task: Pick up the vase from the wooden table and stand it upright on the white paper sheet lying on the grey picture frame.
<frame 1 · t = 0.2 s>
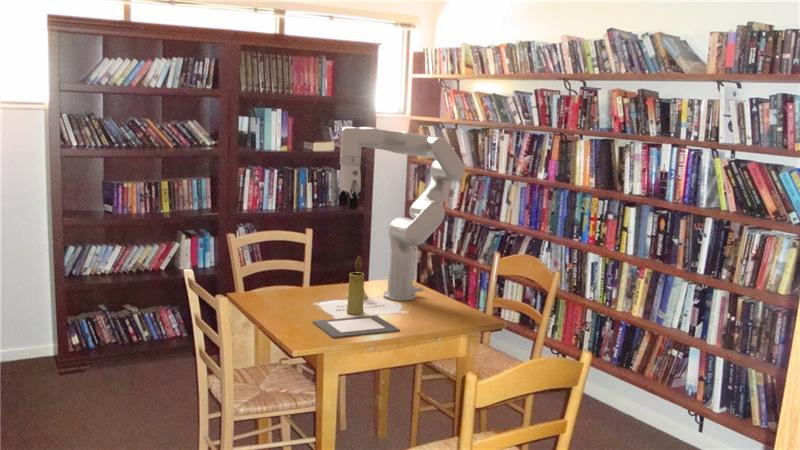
hand: (347, 207, 270), 36 cm above the table, tool pointing down, fingers open, 9 cm apart
grey picture frame: (355, 326, 245), on the table
hand bell: (357, 297, 285), on the table
vase: (355, 313, 263), on the table
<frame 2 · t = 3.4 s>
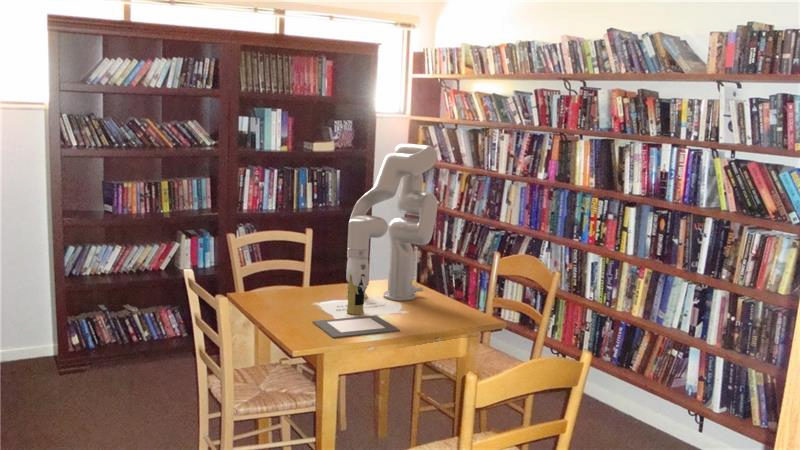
hand: (355, 302, 262), 4 cm above the table, tool pointing down, fingers closed on vase, 5 cm apart
vase: (355, 313, 263), on the table, touching gripper
everything else where it was.
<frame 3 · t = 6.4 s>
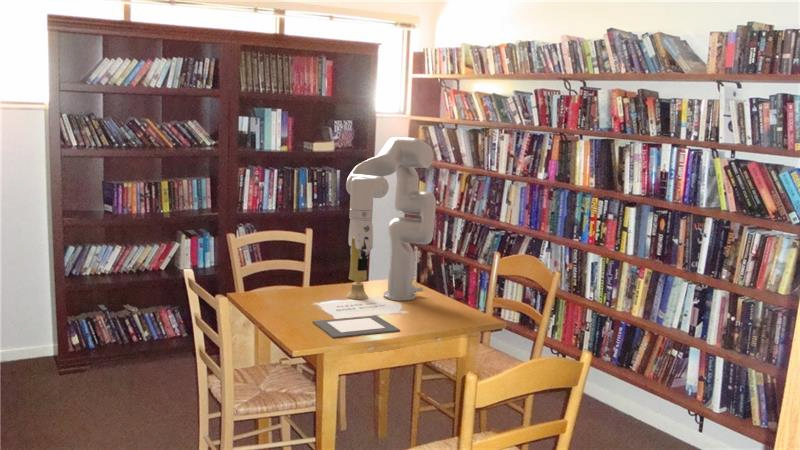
hand: (358, 267, 244), 20 cm above the table, tool pointing down, fingers closed on vase, 5 cm apart
vase: (357, 279, 244), point 16 cm above the table, touching gripper
everything else where it was.
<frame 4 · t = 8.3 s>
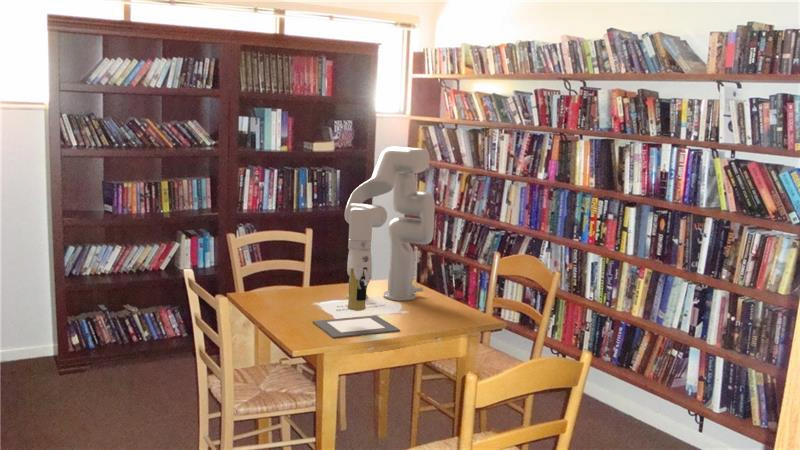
hand: (357, 297, 244), 10 cm above the table, tool pointing down, fingers closed on vase, 5 cm apart
vase: (356, 309, 244), point 6 cm above the table, touching gripper
everything else where it was.
when the fingers open (6 cm above the table, at t = 9.6 s): vase drops 1 cm, resting on grey picture frame.
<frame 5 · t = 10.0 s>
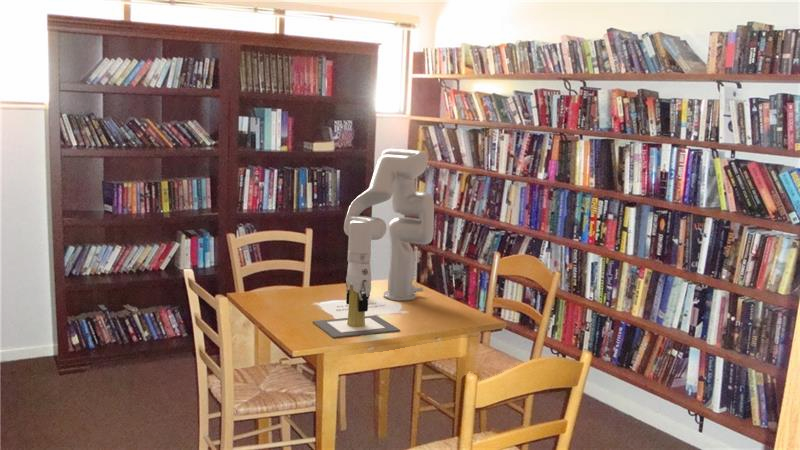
hand: (356, 307, 244), 7 cm above the table, tool pointing down, fingers open, 9 cm apart
vase: (356, 325, 245), point 1 cm above the table, touching grey picture frame
everything else where it was.
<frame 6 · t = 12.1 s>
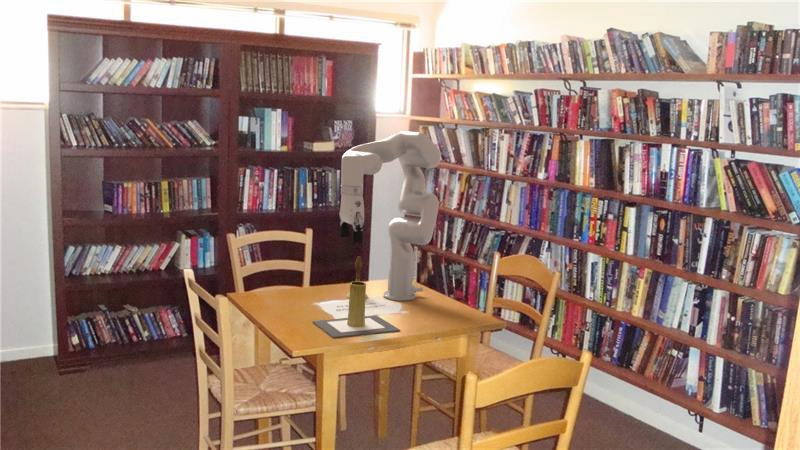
hand: (350, 239, 252), 28 cm above the table, tool pointing down, fingers open, 9 cm apart
nothing on the table moved.
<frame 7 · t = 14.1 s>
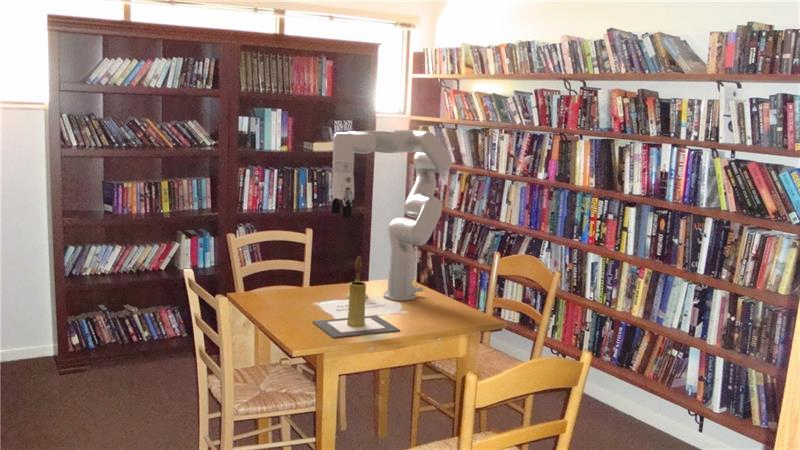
hand: (341, 215, 262), 34 cm above the table, tool pointing down, fingers open, 9 cm apart
nothing on the table moved.
at the end: vase inside the target area on the grey picture frame (0.1 cm from its centre), point 0.5 cm above the grey picture frame's base; vase tilted 0°; the gripper is holding nothing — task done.
